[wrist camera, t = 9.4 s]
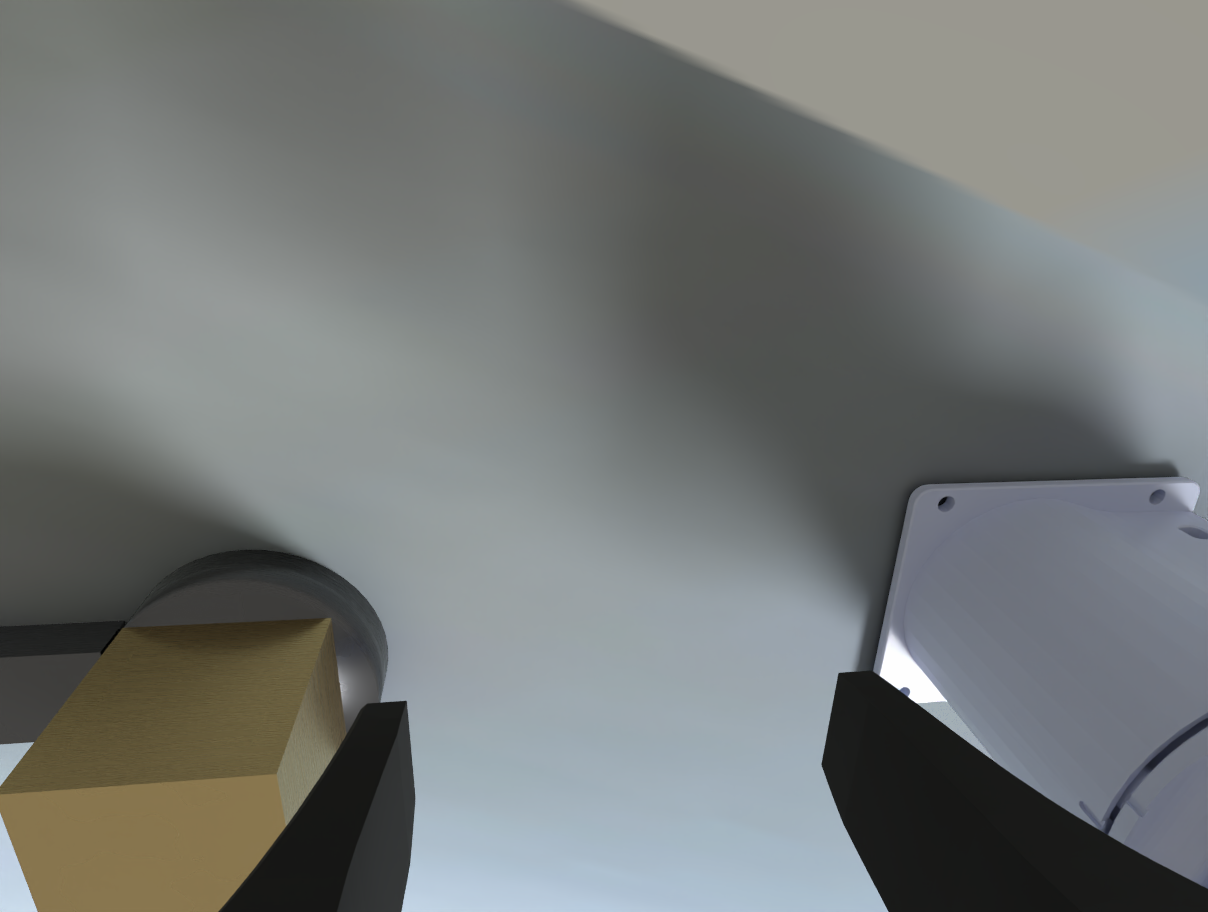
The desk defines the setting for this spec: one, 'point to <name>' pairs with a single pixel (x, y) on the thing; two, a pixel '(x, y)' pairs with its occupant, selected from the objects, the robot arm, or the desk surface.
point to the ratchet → (196, 596)
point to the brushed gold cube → (175, 765)
